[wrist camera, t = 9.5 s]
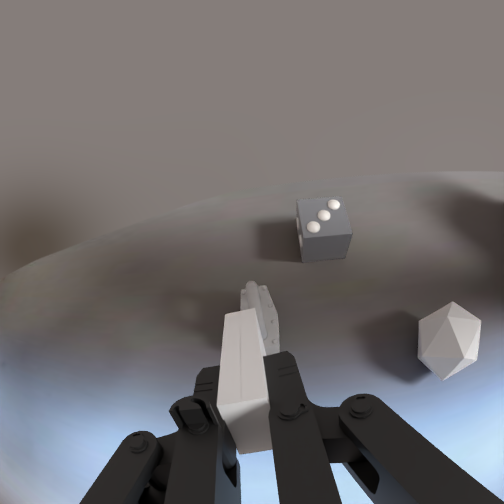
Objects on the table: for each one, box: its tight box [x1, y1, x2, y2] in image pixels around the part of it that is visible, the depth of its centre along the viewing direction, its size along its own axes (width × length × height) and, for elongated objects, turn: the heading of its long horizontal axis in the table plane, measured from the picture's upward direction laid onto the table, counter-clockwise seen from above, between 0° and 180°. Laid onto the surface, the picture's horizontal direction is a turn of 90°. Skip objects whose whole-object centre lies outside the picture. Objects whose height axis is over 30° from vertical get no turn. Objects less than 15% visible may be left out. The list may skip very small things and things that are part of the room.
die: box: [418, 301, 481, 381], centre depth 25 cm, size 8×9×10 cm
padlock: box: [240, 281, 280, 356], centre depth 29 cm, size 7×4×10 cm, turn 10°
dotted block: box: [296, 196, 353, 263], centre depth 36 cm, size 6×6×6 cm
